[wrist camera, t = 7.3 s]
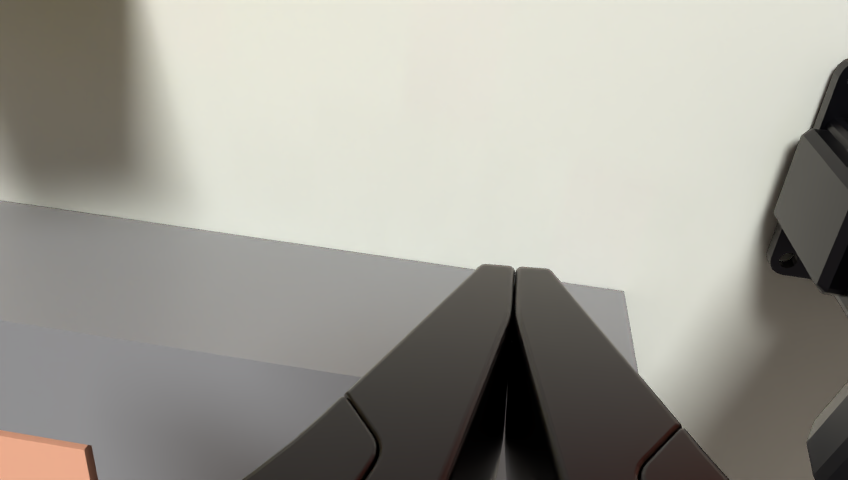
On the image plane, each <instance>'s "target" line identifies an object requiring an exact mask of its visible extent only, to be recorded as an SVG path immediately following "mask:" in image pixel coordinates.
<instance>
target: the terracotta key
mask: <svg viewBox="0 0 848 480" xmlns="http://www.w3.org/2000/svg"><path fill="white" fill-rule="evenodd" d="M0 480H98V476H97V471H96V466H95V460H94V455H93V450H92V445H86V444H80V443H74V442H68V441H62V440H56V439H50V438H44V437H38V436H32V435H27V434H21V433H15V432H9V431H3V430H0Z"/></svg>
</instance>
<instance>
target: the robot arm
mask: <svg viewBox="0 0 848 480" xmlns="http://www.w3.org/2000/svg"><path fill="white" fill-rule="evenodd" d="M774 215H775V217H776V218H777V220H778V224H777V227H776V229H775V232H774V235H773V237H772V240H771V243H770V246H769V248H768V251H767V259H768V262H769V264H770V266H771V268H772V269H773V270H774V271H775V272H776V273H779V274H782V275H787V276H794V277H801V278H808V279H812V280H813V282H814V284H815V285H816V286H817V288H818V289H819V291H820V292H821V293H822V294H827V295H834V296H835V298H836V299H837V301H838V303H839V304H840V306H841V307H842V309H843V311H844V312H845V314H846V316H847V317H848V59H845V60H844V61H842V62H841V63H840V64H839V65H838V66H837V68H836V69H835V71H834V73H833V76H832V78H831V81H830V84H829V86H828V89H827V92H826V94H825V97H824V100H823V103H822V105H821V108H820V111H819V113H818V116H817V119H816V121H815V124H814V127H813V128H811V129H810V130H808V131H807V132H805V133H804V134H803V135H802V136H801V138H800V141H799V143H798V146H797V149H796V152H795V154H794V157H793V160H792V162H791V165H790V168H789V171H788V173H787V176H786V179H785V182H784V184H783V187H782V190H781V193H780V195H779V198H778V201H777V204H776V206H775V209H774ZM786 253H792V254H793V256H792V257H791V259H789V260H787V261H780V260H779V259H780V258H781V256H782V255H784V254H786ZM514 282H515V283H514ZM506 399H507V402H506ZM505 413H506V417H505ZM504 426H505V442H504V446H505V467H506V480H729V479H728V478H727V476H726V475H725V474H724V473H723V472H722V471H721V470H720V469H719V468H718V466H717V465H716V464H715V463H714V462H713V461H712V460H711V459H710V458H709V456H708V455H707V454H706V453H705V452H704V451H703V450H702V448H701V447H700V446H699V445H698V444H697V443H696V441H695V440H694V439H693V438H692V437H691V435H690V434H689V433H688V432H687V431H686V430H685V429H682V426H681V424H680V423H679V422H678V420H677V419H676V418H675V417H674V416H673V415H672V413H671V412H670V411H669V410H668V409H667V407H666V406H665V405H664V404H663V403H662V401H661V400H660V399H659V398H658V397H657V396H656V394H655V393H654V392H653V391H652V390H651V388H650V387H649V386H648V385H647V384H646V382H645V381H644V380H643V379H642V378H641V377H640V375H639V374H638V373H637V372H636V371H635V369H634V368H633V367H632V366H631V365H630V363H629V362H628V361H627V360H626V359H625V358H624V356H623V355H622V354H621V353H620V352H619V350H618V349H617V348H616V347H615V346H614V345H613V343H612V342H611V341H610V340H609V339H608V337H607V336H606V335H605V334H604V333H603V331H602V330H601V329H600V328H599V327H598V326H597V324H596V323H595V322H594V321H593V320H592V318H591V317H590V316H589V315H588V314H587V312H586V311H585V310H584V309H583V308H582V307H581V305H580V304H579V303H578V302H577V301H576V299H575V298H574V297H573V296H572V295H571V293H570V292H569V291H568V290H567V289H566V288H565V286H564V285H563V284H562V283H561V282H560V280H559V279H558V278H557V277H556V276H555V275H554V273H553V272H552V271H551V270H549V269H546V268H532V267H519V268H518V269H517V270H516V272H515V270H514V268H512V267H511V266H504V265H490V264H483V265H481V266H479V267H478V268H477V269H476V270H475V271H474V272H473V273H472V274H471V275H470V276H468V277H467V278H466V279H465V280H464V281H463V282H462V283H461V284H460V285H459V286H458V287H457V288H456V289H455V290H454V291H453V292H452V293H450V294H449V295H448V296H447V297H446V298H445V299H444V300H443V301H442V302H441V303H440V304H439V305H438V306H437V307H436V308H435V309H434V310H432V311H431V312H430V313H429V314H428V315H427V316H426V317H425V318H424V319H423V320H422V321H421V322H420V323H419V324H418V325H417V326H416V327H414V328H413V329H412V330H411V331H410V332H409V333H408V334H407V335H406V336H405V337H404V338H403V339H402V340H401V341H400V342H399V343H398V344H396V345H395V346H394V347H393V348H392V349H391V350H390V351H389V352H388V353H387V354H386V355H385V356H384V357H383V358H382V359H381V360H380V361H378V362H377V363H376V364H375V365H374V366H373V367H372V368H371V369H370V370H369V371H368V372H367V373H366V374H365V375H364V376H363V377H362V378H360V379H359V380H358V381H357V382H356V383H355V384H354V385H353V386H352V387H351V388H350V389H349V390H348V391H347V392H346V393H345V394H344V397H340V398H339V399H338V400H337V401H336V402H335V403H334V404H332V405H331V406H330V407H329V408H328V409H327V410H326V411H325V412H324V413H323V414H322V415H321V416H320V417H318V418H317V419H316V420H315V421H314V422H313V423H312V424H311V425H309V426H308V427H307V428H306V429H305V430H304V431H303V432H301V433H300V434H299V435H298V436H297V437H296V438H295V439H293V440H292V441H291V442H290V443H289V444H287V445H286V446H285V447H283V448H282V449H281V450H280V451H278V452H277V453H276V454H274V455H273V456H272V457H271V458H269V459H268V460H267V461H265V462H264V463H263V464H262V465H260V466H259V467H258V468H256V469H255V470H254V471H252V472H251V473H250V474H248V475H247V476H246V477H244V478H243V479H242V480H496V477H497V472H498V468H499V463H500V457H501V451H502V445H503V436H504ZM807 447H808V452H809V457H810V462H811V467H812V472H813V476H814V478H815V480H848V382H847V383H846V384H845V386H844V387H843V388H842V389H841V390H840V391H839V393H838V394H837V395H836V396H835V397H834V398H833V400H832V401H831V402H830V403H829V404H828V405H827V407H826V408H825V409H824V410H823V411H822V412H821V414H820V415H819V416H818V417H817V418H816V419H815V421H814V423H813V426H812V429H811V431H810V434H809V437H808V440H807Z"/></svg>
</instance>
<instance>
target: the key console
mask: <svg viewBox="0 0 848 480" xmlns="http://www.w3.org/2000/svg"><path fill="white" fill-rule="evenodd" d="M474 271H475V270H473V269H466V268H460V267H453V266H446V265H439V264H432V263H425V262H418V261H411V260H405V259H398V258H391V257H384V256H377V255H370V254H363V253H357V252H350V251H343V250H336V249H329V248H322V247H315V246H308V245H302V244H295V243H288V242H281V241H274V240H267V239H260V238H254V237H247V236H240V235H233V234H226V233H219V232H212V231H205V230H199V229H192V228H185V227H178V226H171V225H164V224H157V223H151V222H144V221H137V220H130V219H123V218H116V217H109V216H102V215H96V214H89V213H82V212H75V211H68V210H61V209H54V208H48V207H41V206H34V205H27V204H20V203H13V202H6V201H0V430H3V431H9V432H15V433H21V434H27V435H32V436H38V437H44V438H50V439H56V440H62V441H68V442H74V443H80V444H86V445H92V450H93V455H94V460H95V466H96V471H97V476H98V480H242V479H243V478H244V477H246V476H247V475H248V474H250V473H251V472H252V471H254V470H255V469H256V468H258V467H259V466H260V465H262V464H263V463H264V462H265V461H267V460H268V459H269V458H271V457H272V456H273V455H274V454H276V453H277V452H278V451H280V450H281V449H282V448H283V447H285V446H286V445H287V444H289V443H290V442H291V441H292V440H293V439H295V438H296V437H297V436H298V435H299V434H300V433H301V432H303V431H304V430H305V429H306V428H307V427H308V426H309V425H311V424H312V423H313V422H314V421H315V420H316V419H317V418H318V417H320V416H321V415H322V414H323V413H324V412H325V411H326V410H327V409H328V408H329V407H330V406H331V405H332V404H334V403H335V402H336V401H337V400H338V399H339V398H340V397H344V394H345V393H346V392H347V391H348V390H349V389H350V388H351V387H352V386H353V385H354V384H355V383H356V382H357V381H358V380H359V379H360V378H362V377H363V376H364V375H365V374H366V373H367V372H368V371H369V370H370V369H371V368H372V367H373V366H374V365H375V364H376V363H377V362H378V361H380V360H381V359H382V358H383V357H384V356H385V355H386V354H387V353H388V352H389V351H390V350H391V349H392V348H393V347H394V346H395V345H396V344H398V343H399V342H400V341H401V340H402V339H403V338H404V337H405V336H406V335H407V334H408V333H409V332H410V331H411V330H412V329H413V328H414V327H416V326H417V325H418V324H419V323H420V322H421V321H422V320H423V319H424V318H425V317H426V316H427V315H428V314H429V313H430V312H431V311H432V310H434V309H435V308H436V307H437V306H438V305H439V304H440V303H441V302H442V301H443V300H444V299H445V298H446V297H447V296H448V295H449V294H450V293H452V292H453V291H454V290H455V289H456V288H457V287H458V286H459V285H460V284H461V283H462V282H463V281H464V280H465V279H466V278H467V277H468V276H470V275H471V274H472V273H473V272H474ZM514 283H515V282H514ZM561 283H562V284H563V285H564V286H565V288H566V289H567V290H568V291H569V292H570V293H571V295H572V296H573V297H574V298H575V299H576V301H577V302H578V303H579V304H580V305H581V307H582V308H583V309H584V310H585V311H586V312H587V314H588V315H589V316H590V317H591V318H592V320H593V321H594V322H595V323H596V324H597V326H598V327H599V328H600V329H601V330H602V331H603V333H604V334H605V335H606V336H607V337H608V339H609V340H610V341H611V342H612V343H613V345H614V346H615V347H616V348H617V349H618V350H619V352H620V353H621V354H622V355H623V356H624V358H625V359H626V360H627V361H628V362H629V363H630V365H631V366H632V367H633V368H634V369H635V371H636V372H637V373H638V369H637V363H636V358H635V352H634V346H633V340H632V335H631V329H630V323H629V318H628V312H627V306H626V300H625V295H624V291H617V290H611V289H604V288H597V287H590V286H583V285H576V284H569V283H563V282H561ZM506 402H507V399H506ZM505 417H506V413H505ZM504 442H505V426H504V436H503V445H502V451H501V457H500V463H499V468H498V472H497V477H496V480H506V467H505V446H504Z"/></svg>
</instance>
